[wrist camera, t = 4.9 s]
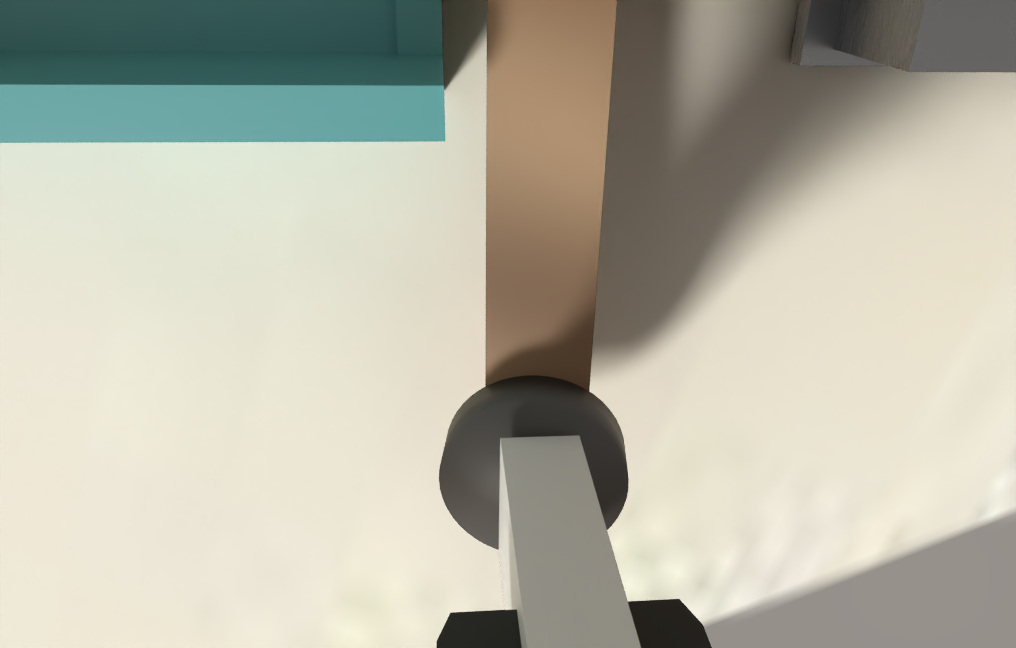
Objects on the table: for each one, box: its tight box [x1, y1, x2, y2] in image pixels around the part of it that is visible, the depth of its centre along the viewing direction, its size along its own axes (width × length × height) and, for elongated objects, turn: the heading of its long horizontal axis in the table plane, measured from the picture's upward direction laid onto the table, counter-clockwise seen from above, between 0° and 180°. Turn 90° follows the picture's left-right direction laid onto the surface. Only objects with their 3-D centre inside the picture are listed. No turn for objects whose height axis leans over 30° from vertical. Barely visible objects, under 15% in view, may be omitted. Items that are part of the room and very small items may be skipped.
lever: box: [439, 0, 628, 550], centre depth 13 cm, size 17×17×4 cm
